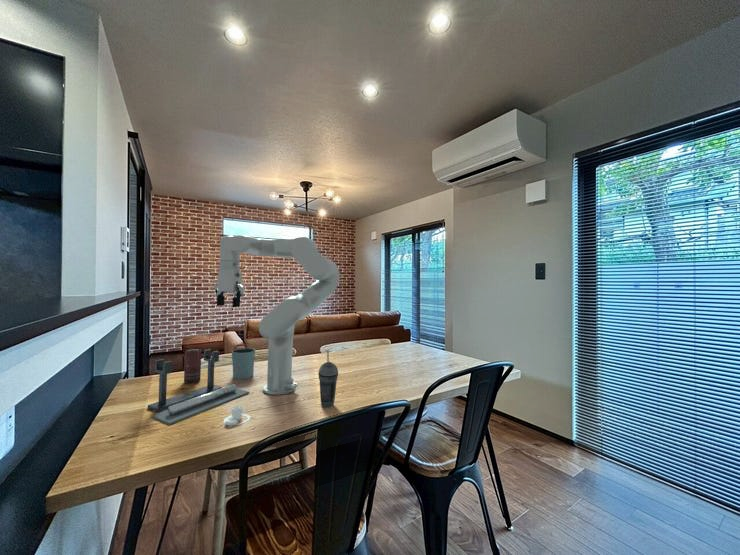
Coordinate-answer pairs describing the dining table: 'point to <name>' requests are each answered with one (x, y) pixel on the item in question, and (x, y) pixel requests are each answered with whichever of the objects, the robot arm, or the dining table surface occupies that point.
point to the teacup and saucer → (235, 416)
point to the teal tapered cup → (243, 363)
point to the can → (192, 365)
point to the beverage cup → (328, 383)
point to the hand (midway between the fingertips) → (228, 306)
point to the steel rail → (201, 399)
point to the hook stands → (164, 403)
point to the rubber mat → (197, 408)
